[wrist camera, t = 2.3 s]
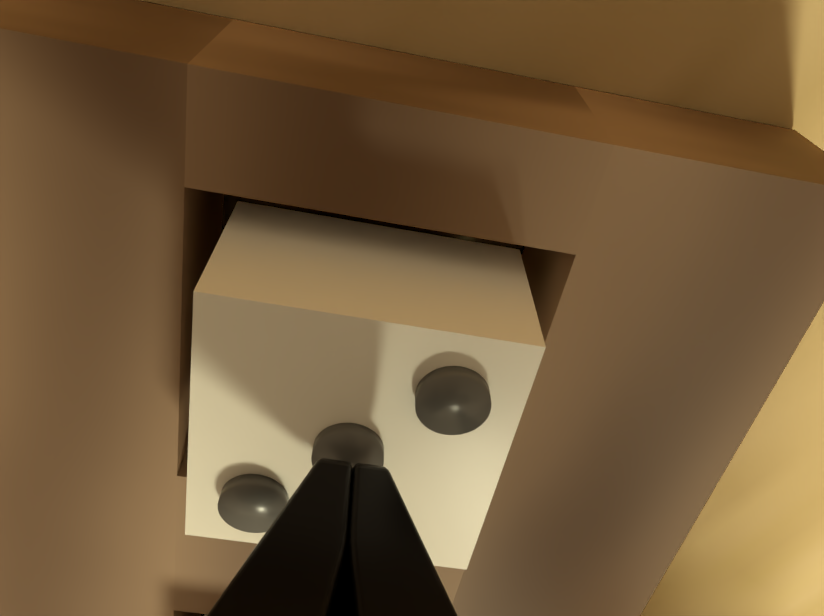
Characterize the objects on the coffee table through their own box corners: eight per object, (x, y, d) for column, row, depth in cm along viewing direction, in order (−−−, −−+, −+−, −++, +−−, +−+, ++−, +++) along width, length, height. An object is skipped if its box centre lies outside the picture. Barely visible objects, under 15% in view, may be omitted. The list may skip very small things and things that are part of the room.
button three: (519, 249, 10) (548, 356, 8) (457, 452, 12) (467, 582, 10) (237, 201, 10) (188, 301, 8) (223, 419, 12) (181, 546, 10)
